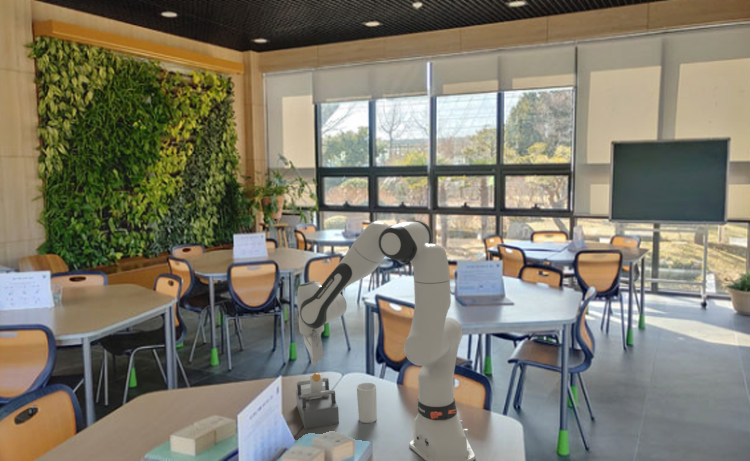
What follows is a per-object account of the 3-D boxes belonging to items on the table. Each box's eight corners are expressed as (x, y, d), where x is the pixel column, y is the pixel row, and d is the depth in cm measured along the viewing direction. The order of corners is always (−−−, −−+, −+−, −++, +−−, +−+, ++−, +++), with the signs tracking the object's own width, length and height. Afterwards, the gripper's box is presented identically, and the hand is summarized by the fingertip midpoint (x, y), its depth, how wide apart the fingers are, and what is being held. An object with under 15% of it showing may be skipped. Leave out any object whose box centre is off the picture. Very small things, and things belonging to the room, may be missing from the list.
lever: (322, 399, 203) (323, 376, 197) (310, 400, 202) (311, 378, 196) (321, 392, 205) (322, 370, 200) (309, 394, 204) (309, 372, 199)
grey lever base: (339, 423, 196) (337, 393, 195) (304, 429, 193) (302, 399, 192) (328, 400, 215) (326, 373, 214) (296, 405, 212) (295, 378, 211)
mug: (375, 424, 194) (373, 390, 193) (356, 423, 196) (354, 390, 194) (380, 411, 204) (379, 379, 203) (362, 410, 206) (361, 378, 204)
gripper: (325, 333, 192) (328, 372, 193) (315, 318, 212) (318, 354, 213) (307, 335, 190) (310, 375, 192) (298, 320, 210) (301, 356, 211)
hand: (314, 363), depth 203 cm, fingers closed
